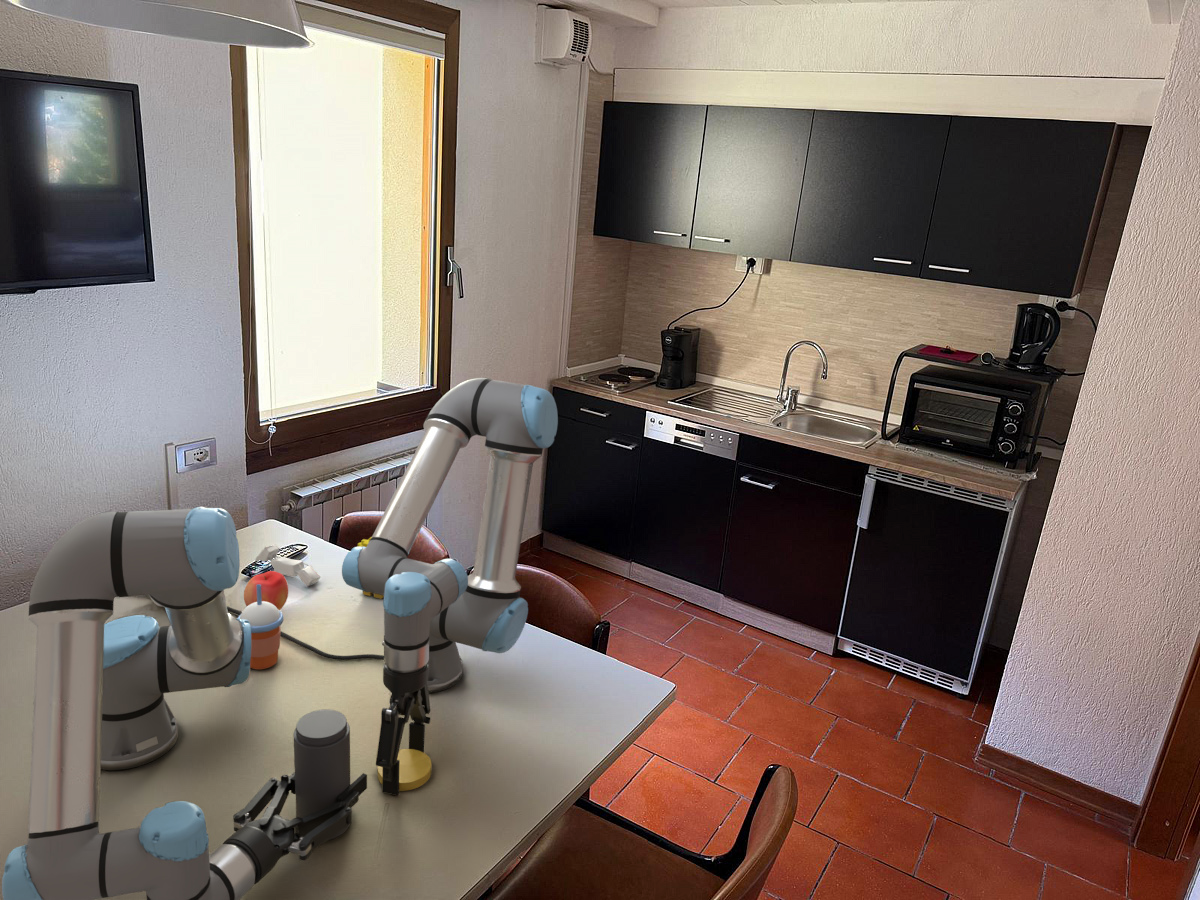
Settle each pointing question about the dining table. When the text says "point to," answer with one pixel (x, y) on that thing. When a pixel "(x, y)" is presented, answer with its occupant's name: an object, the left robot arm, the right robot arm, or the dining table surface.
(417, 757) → the lid
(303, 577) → the clamp
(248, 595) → the apple
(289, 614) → the dining table surface
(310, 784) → the jar
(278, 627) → the cup with straw
